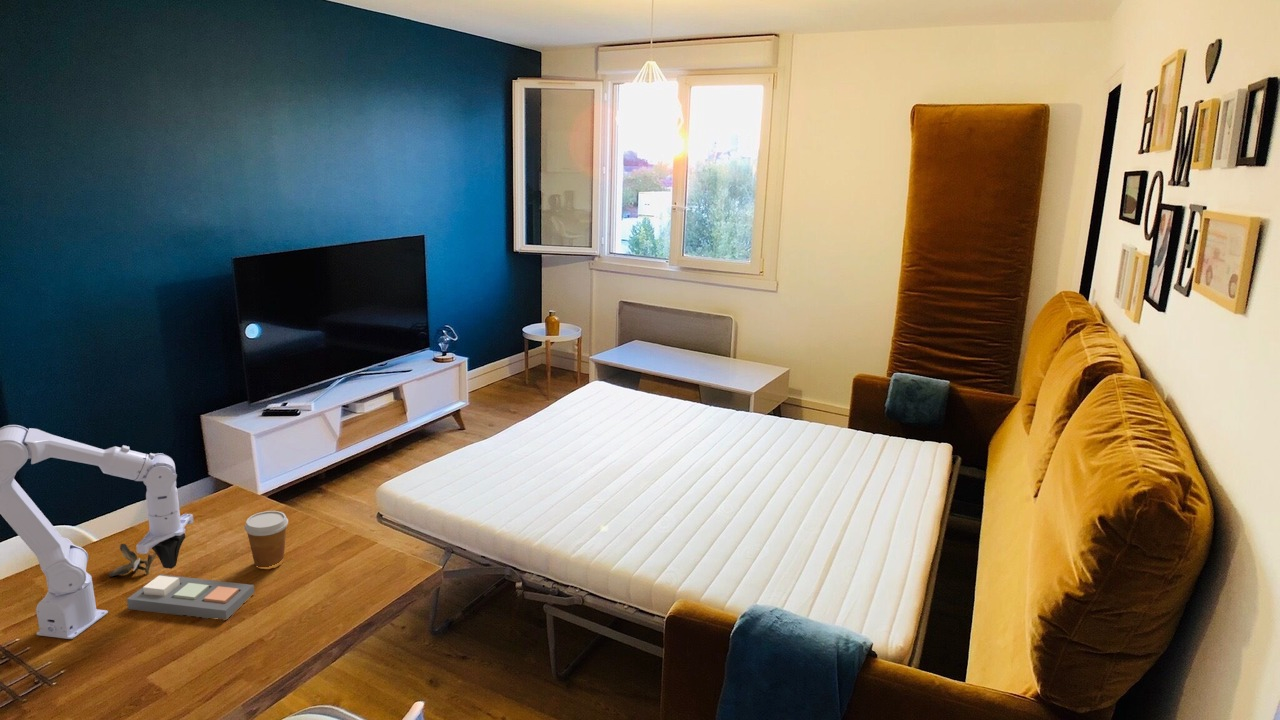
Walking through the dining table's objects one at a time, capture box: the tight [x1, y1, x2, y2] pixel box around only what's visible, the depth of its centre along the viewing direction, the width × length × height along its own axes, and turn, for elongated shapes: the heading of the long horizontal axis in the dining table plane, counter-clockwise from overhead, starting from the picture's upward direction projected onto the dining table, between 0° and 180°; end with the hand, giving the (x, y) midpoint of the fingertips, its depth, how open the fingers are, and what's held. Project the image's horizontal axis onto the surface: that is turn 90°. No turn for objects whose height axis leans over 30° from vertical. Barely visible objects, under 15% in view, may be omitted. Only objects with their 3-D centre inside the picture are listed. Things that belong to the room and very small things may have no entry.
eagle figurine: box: [108, 543, 157, 578], centre depth 172 cm, size 8×7×9 cm
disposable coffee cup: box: [244, 510, 289, 567], centre depth 179 cm, size 10×10×12 cm
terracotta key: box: [204, 586, 239, 604], centre depth 163 cm, size 5×5×3 cm
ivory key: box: [142, 575, 180, 597], centre depth 164 cm, size 5×5×3 cm
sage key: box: [174, 583, 209, 600], centre depth 163 cm, size 5×5×3 cm
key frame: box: [126, 574, 255, 620], centre depth 164 cm, size 10×23×2 cm, turn 85°
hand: (169, 566), depth 162 cm, fingers closed
